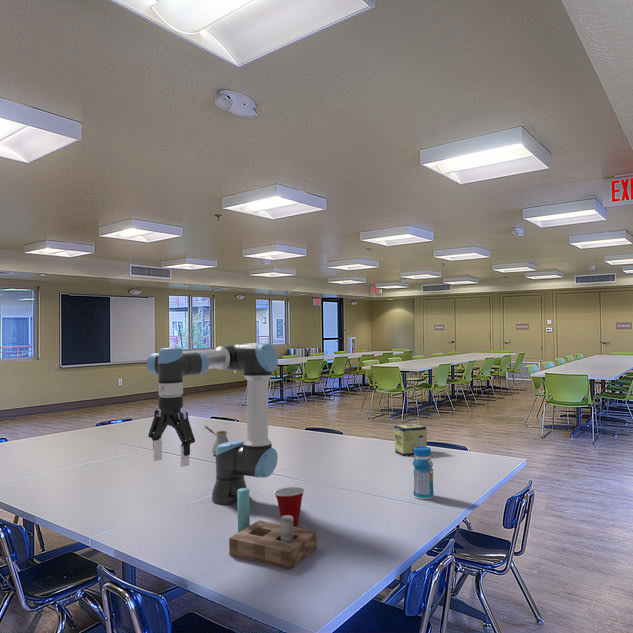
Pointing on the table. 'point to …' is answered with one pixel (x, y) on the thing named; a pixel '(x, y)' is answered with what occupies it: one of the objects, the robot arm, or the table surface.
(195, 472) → the table surface
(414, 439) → the protein box
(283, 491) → the plastic cup
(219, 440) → the coffee pot
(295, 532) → the bore block
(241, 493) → the teal peg
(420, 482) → the beverage bottle
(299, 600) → the table surface
